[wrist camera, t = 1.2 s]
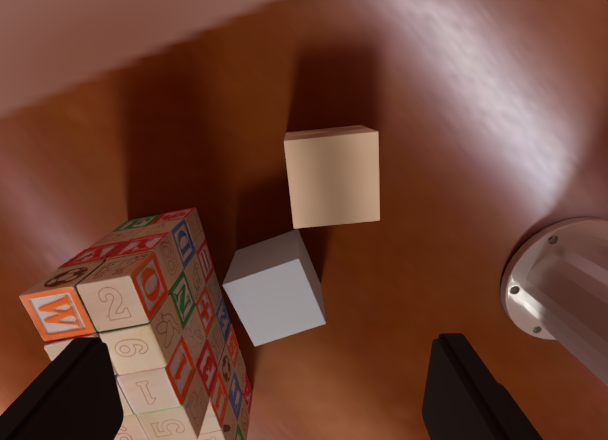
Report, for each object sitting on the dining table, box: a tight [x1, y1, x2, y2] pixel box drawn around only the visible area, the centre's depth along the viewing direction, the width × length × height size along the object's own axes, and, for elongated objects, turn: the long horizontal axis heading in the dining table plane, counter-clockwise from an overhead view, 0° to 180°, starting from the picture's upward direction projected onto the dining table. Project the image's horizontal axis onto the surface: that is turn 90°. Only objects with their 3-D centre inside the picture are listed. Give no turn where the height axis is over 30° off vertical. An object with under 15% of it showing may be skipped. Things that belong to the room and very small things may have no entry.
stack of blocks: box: [19, 207, 253, 440], centre depth 26 cm, size 21×6×12 cm, turn 11°
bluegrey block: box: [223, 229, 326, 346], centre depth 28 cm, size 6×6×6 cm
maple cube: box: [284, 125, 380, 229], centre depth 25 cm, size 6×6×6 cm
